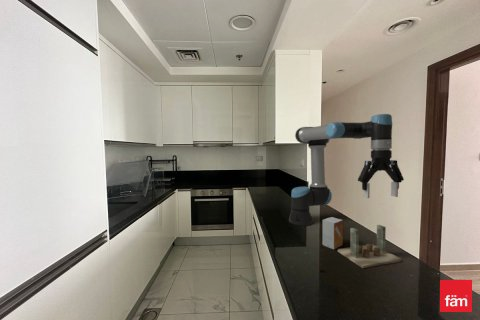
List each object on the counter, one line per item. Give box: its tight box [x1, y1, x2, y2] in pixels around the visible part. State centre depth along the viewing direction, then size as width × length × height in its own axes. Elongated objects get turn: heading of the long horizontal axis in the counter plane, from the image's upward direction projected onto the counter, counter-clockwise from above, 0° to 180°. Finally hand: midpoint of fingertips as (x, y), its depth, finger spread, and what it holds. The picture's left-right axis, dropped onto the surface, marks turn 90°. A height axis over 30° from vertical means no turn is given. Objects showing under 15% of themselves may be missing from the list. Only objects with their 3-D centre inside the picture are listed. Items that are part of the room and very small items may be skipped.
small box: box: [322, 216, 344, 250], centre depth 98 cm, size 8×6×13 cm
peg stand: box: [337, 224, 402, 269], centre depth 87 cm, size 14×20×13 cm
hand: (380, 196), depth 87 cm, fingers open, 13 cm apart
